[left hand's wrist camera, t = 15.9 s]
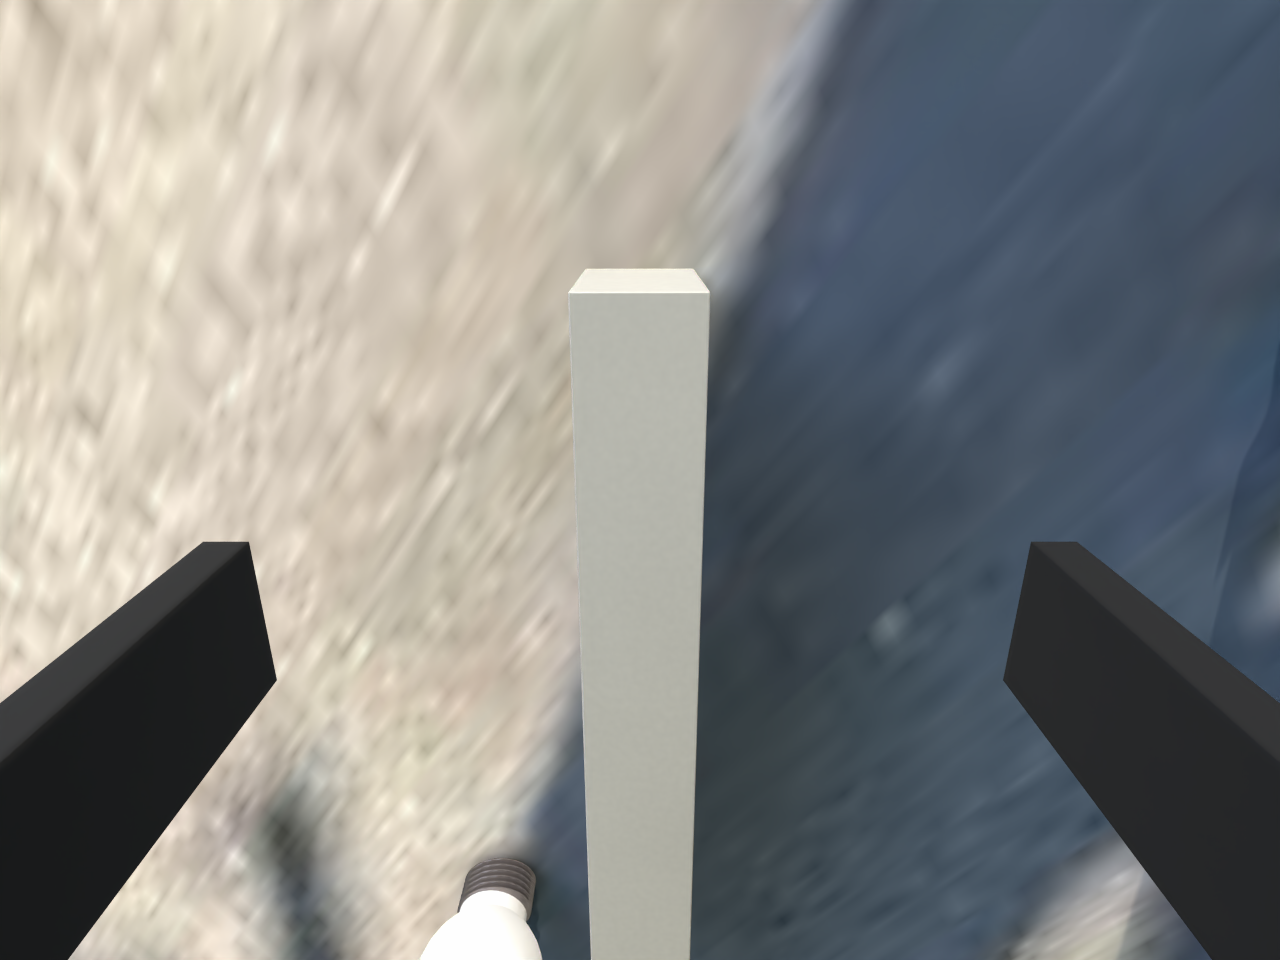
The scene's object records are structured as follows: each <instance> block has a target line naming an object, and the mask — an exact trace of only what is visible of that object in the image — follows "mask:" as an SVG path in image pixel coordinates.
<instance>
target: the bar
mask: <svg viewBox="0 0 1280 960" xmlns="http://www.w3.org/2000/svg"><path fill="white" fill-rule="evenodd" d="M568 300H569V329H570V358H571V387H572V416H573V445H574V474H575V503H576V533H577V562H578V591H579V620H580V649H581V678H582V707H583V737H584V766H585V795H586V824H587V853H588V882H589V911H590V940H591V960H690V937H691V904H692V872H693V839H694V807H695V774H696V742H697V709H698V677H699V644H700V612H701V579H702V547H703V514H704V482H705V449H706V417H707V384H708V352H709V319H710V292H709V290H708V289H707V287H706V286H705V285H704V283H703V282H702V280H701V279H700V277H699V276H698V275H697V273H696V272H695V270H694V269H585V271H584V272H583V273H582V275H581V276H580V277H579V279H578V280H577V282H576V283H575V284H574V286H573V287H572V288H571V290H570V291H569V293H568Z"/></svg>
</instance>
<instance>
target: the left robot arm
mask: <svg viewBox="0 0 1280 960" xmlns="http://www.w3.org/2000/svg"><path fill="white" fill-rule="evenodd" d="M276 681H277V679H276V674H275V669H274V664H273V659H272V654H271V649H270V644H269V639H268V634H267V629H266V624H265V619H264V614H263V609H262V604H261V600H260V595H259V590H258V585H257V580H256V575H255V570H254V565H253V560H252V555H251V550H250V545H249V542H202V543H201V544H200V545H199V546H197V547H196V548H195V549H194V550H192V551H191V552H190V553H189V554H187V555H186V556H185V557H184V558H182V559H181V560H180V561H179V562H177V563H176V564H175V565H174V566H172V567H171V568H170V569H168V570H167V571H166V572H165V573H163V574H162V575H161V576H160V577H158V578H157V579H156V580H155V581H153V582H152V583H151V584H150V585H148V586H147V587H146V588H145V589H143V590H142V591H141V592H140V593H138V594H137V595H136V596H135V597H133V598H132V599H131V600H130V601H128V602H127V603H126V604H124V605H123V606H122V607H121V608H119V609H118V610H117V611H116V612H114V613H113V614H112V615H111V616H109V617H108V618H107V619H106V620H104V621H103V622H102V623H101V624H99V625H98V626H97V627H96V628H94V629H93V630H92V631H91V632H89V633H88V634H87V635H86V636H84V637H83V638H82V639H80V640H79V641H78V642H77V643H75V644H74V645H73V646H72V647H70V648H69V649H68V650H67V651H65V652H64V653H63V654H62V655H60V656H59V657H58V658H57V659H55V660H54V661H53V662H52V663H50V664H49V665H48V666H47V667H45V668H44V669H43V670H42V671H40V672H39V673H38V674H36V675H35V676H34V677H33V678H31V679H30V680H29V681H28V682H26V683H25V684H24V685H23V686H21V687H20V688H19V689H18V690H16V691H15V692H14V693H13V694H11V695H10V696H9V697H8V698H6V699H5V700H4V701H3V702H1V703H0V960H68V959H69V957H70V956H71V955H72V953H73V952H74V951H75V949H76V948H77V947H78V945H79V944H80V943H81V941H82V940H83V939H84V937H85V936H86V935H87V933H88V932H89V931H90V929H91V928H92V927H93V925H94V924H95V923H96V921H97V920H98V919H99V917H100V916H101V915H102V913H103V912H104V911H105V909H106V908H107V907H108V905H109V904H110V903H111V901H112V900H113V899H114V897H115V896H116V895H117V893H118V892H119V891H120V889H121V888H122V887H123V885H124V884H125V883H126V881H127V880H128V879H129V877H130V876H131V875H132V873H133V872H134V871H135V869H136V868H137V866H138V865H139V864H140V862H141V861H142V860H143V858H144V857H145V856H146V854H147V853H148V852H149V850H150V849H151V848H152V846H153V845H154V844H155V842H156V841H157V840H158V838H159V837H160V836H161V834H162V833H163V832H164V830H165V829H166V828H167V826H168V825H169V824H170V822H171V821H172V820H173V818H174V817H175V816H176V814H177V813H178V812H179V810H180V809H181V808H182V806H183V805H184V804H185V802H186V801H187V800H188V798H189V797H190V796H191V794H192V793H193V792H194V790H195V789H196V788H197V786H198V785H199V784H200V782H201V781H202V780H203V778H204V777H205V776H206V774H207V773H208V772H209V770H210V769H211V768H212V766H213V765H214V764H215V762H216V761H217V759H218V758H219V757H220V755H221V754H222V753H223V751H224V750H225V749H226V747H227V746H228V745H229V743H230V742H231V741H232V739H233V738H234V737H235V735H236V734H237V733H238V731H239V730H240V729H241V727H242V726H243V725H244V723H245V722H246V721H247V719H248V718H249V717H250V715H251V714H252V713H253V711H254V710H255V709H256V707H257V706H258V705H259V703H260V702H261V701H262V699H263V698H264V697H265V695H266V694H267V693H268V691H269V690H270V689H271V687H272V686H273V685H274V683H275V682H276ZM1003 681H1004V682H1005V683H1006V685H1007V686H1008V687H1009V689H1010V690H1011V691H1012V693H1013V694H1014V695H1015V697H1016V698H1017V699H1018V701H1019V702H1020V703H1021V705H1022V706H1023V707H1024V709H1025V710H1026V711H1027V713H1028V714H1029V715H1030V717H1031V718H1032V719H1033V721H1034V722H1035V723H1036V725H1037V726H1038V727H1039V729H1040V730H1041V731H1042V733H1043V734H1044V735H1045V737H1046V738H1047V739H1048V741H1049V742H1050V743H1051V745H1052V746H1053V747H1054V749H1055V750H1056V751H1057V753H1058V754H1059V755H1060V757H1061V758H1062V759H1063V761H1064V762H1065V764H1066V765H1067V766H1068V768H1069V769H1070V770H1071V772H1072V773H1073V774H1074V776H1075V777H1076V778H1077V780H1078V781H1079V782H1080V784H1081V785H1082V786H1083V788H1084V789H1085V790H1086V792H1087V793H1088V794H1089V796H1090V797H1091V798H1092V800H1093V801H1094V802H1095V804H1096V805H1097V806H1098V808H1099V809H1100V810H1101V812H1102V813H1103V814H1104V816H1105V817H1106V818H1107V820H1108V821H1109V822H1110V824H1111V825H1112V826H1113V828H1114V829H1115V830H1116V832H1117V833H1118V834H1119V836H1120V837H1121V838H1122V840H1123V841H1124V842H1125V844H1126V845H1127V846H1128V848H1129V849H1130V850H1131V852H1132V853H1133V854H1134V856H1135V857H1136V858H1137V860H1138V861H1139V862H1140V864H1141V865H1142V866H1143V868H1144V869H1145V871H1146V872H1147V873H1148V875H1149V876H1150V877H1151V879H1152V880H1153V881H1154V883H1155V884H1156V885H1157V887H1158V888H1159V889H1160V891H1161V892H1162V893H1163V895H1164V896H1165V897H1166V899H1167V900H1168V901H1169V903H1170V904H1171V905H1172V907H1173V908H1174V909H1175V911H1176V912H1177V913H1178V915H1179V916H1180V917H1181V919H1182V920H1183V921H1184V923H1185V924H1186V925H1187V927H1188V928H1189V929H1190V931H1191V932H1192V933H1193V935H1194V936H1195V937H1196V939H1197V940H1198V941H1199V943H1200V944H1201V945H1202V947H1203V948H1204V949H1205V951H1206V952H1207V953H1208V955H1209V956H1210V957H1211V959H1212V960H1280V703H1279V702H1277V701H1276V700H1275V699H1274V698H1272V697H1271V696H1270V695H1269V694H1267V693H1266V692H1265V691H1264V690H1262V689H1261V688H1260V687H1259V686H1257V685H1256V684H1255V683H1254V682H1252V681H1251V680H1250V679H1249V678H1247V677H1246V676H1245V675H1244V674H1242V673H1241V672H1240V671H1238V670H1237V669H1236V668H1235V667H1233V666H1232V665H1231V664H1230V663H1228V662H1227V661H1226V660H1225V659H1223V658H1222V657H1221V656H1220V655H1218V654H1217V653H1216V652H1215V651H1213V650H1212V649H1211V648H1210V647H1208V646H1207V645H1206V644H1205V643H1203V642H1202V641H1201V640H1200V639H1198V638H1197V637H1196V636H1194V635H1193V634H1192V633H1191V632H1189V631H1188V630H1187V629H1186V628H1184V627H1183V626H1182V625H1181V624H1179V623H1178V622H1177V621H1176V620H1174V619H1173V618H1172V617H1171V616H1169V615H1168V614H1167V613H1166V612H1164V611H1163V610H1162V609H1161V608H1159V607H1158V606H1157V605H1156V604H1154V603H1153V602H1152V601H1150V600H1149V599H1148V598H1147V597H1145V596H1144V595H1143V594H1142V593H1140V592H1139V591H1138V590H1137V589H1135V588H1134V587H1133V586H1132V585H1130V584H1129V583H1128V582H1127V581H1125V580H1124V579H1123V578H1122V577H1120V576H1119V575H1118V574H1117V573H1115V572H1114V571H1113V570H1112V569H1110V568H1109V567H1108V566H1106V565H1105V564H1104V563H1103V562H1101V561H1100V560H1099V559H1098V558H1096V557H1095V556H1094V555H1093V554H1091V553H1090V552H1089V551H1088V550H1086V549H1085V548H1084V547H1083V546H1081V545H1080V544H1079V543H1078V542H1031V545H1030V550H1029V555H1028V560H1027V565H1026V570H1025V575H1024V580H1023V585H1022V590H1021V595H1020V600H1019V604H1018V609H1017V614H1016V619H1015V624H1014V629H1013V634H1012V639H1011V644H1010V649H1009V654H1008V659H1007V664H1006V669H1005V674H1004V679H1003Z"/></svg>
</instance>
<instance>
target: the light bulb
mask: <svg viewBox="0 0 1280 960" xmlns="http://www.w3.org/2000/svg"><path fill="white" fill-rule="evenodd" d="M535 884H536V878H535V875H534V873H533V871H532V870H531V869H530V868H529V867H528V866H527V865H525V864H524V863H522V862H519V861H516V860H513V859H507V858H496V859H490V860H486V861H484V862H481V863H479V864H477V865H476V866H475V867H473V868H472V869H471V870H470V871H469V873H468V874H467V876H466V879H465V883H464V888H463V891H462V895H461V899H460V903H459V907H458V913H457V914H456V915H454V916H453V917H452V918H451V919H449V920H448V921H447V922H445V924H444V925H443V926H442V927H441V928H440V929H439V930H438V931H437V932H436V934H435V935H434V936H433V937H432V938H431V940H430V942H429V943H428V945H427V947H426V948H425V950H424V952H423V954H422V956H421V957H420V959H419V960H542V956H541V952H540V949H539V946H538V943H537V940H536V938H535V936H534V934H533V933H532V931H531V929H530V928H529V926H528V925H527V923H526V922H527V920H528V919H529V917H530V915H531V909H532V903H533V896H534V890H535Z"/></svg>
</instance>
